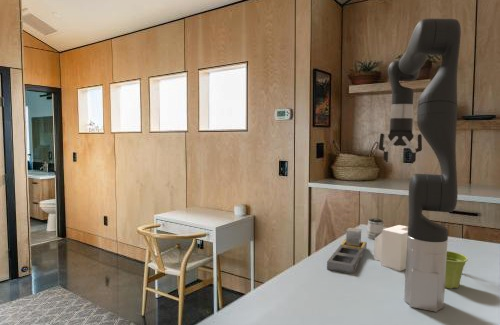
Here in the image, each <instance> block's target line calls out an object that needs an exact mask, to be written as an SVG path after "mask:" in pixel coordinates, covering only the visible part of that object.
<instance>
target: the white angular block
mask: <svg viewBox="0 0 500 325" xmlns="http://www.w3.org/2000/svg"><path fill="white" fill-rule="evenodd" d="M407 235H408V225H407V226H406V225H401V224H396V225H394V226H390V227H387V228H384V229H383V230H382V233H381V234H380V235H378V236H377V237H376V238H375V240H374V248H373V259H374V260H376V261H379V262H380V266H381V267H382V266H383V267H386V268H389V269H393V270H395V271H399V272H401V271H403V270H406V253H407Z"/></svg>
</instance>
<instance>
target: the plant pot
mask: <svg viewBox="0 0 500 325" xmlns="http://www.w3.org/2000/svg"><path fill="white" fill-rule="evenodd" d="M467 262H468V257H467V256H465V255H464V254H461V253H459V252H455V251H451V250H447V258H446V274H445V289H446V288H447V289H458V288H459V287H460V282H461V279H462V278H461V277H462V274H463V270H464V266H465V265H466V263H467Z"/></svg>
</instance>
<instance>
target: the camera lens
mask: <svg viewBox="0 0 500 325" xmlns="http://www.w3.org/2000/svg"><path fill="white" fill-rule="evenodd" d="M384 223H385V222H384V221H383V219H380V218H369V219H368V220H367V237H368V239H370V240H374V239H375V238H376V237H377V236H378V235H380V234H381V233H382V230H383V229H385V228H384Z"/></svg>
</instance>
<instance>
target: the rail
mask: <svg viewBox="0 0 500 325" xmlns="http://www.w3.org/2000/svg"><path fill="white" fill-rule="evenodd" d="M367 248H368V247H367V241H361V248H360V247H355V246H348V245H346V239H344V240H343V241H342V242H341V244H340V245H339V246H338V248H337V249H336V250H335V251H334V253H332V255H331V257H329V259H328V260H327V261H326V270H329V271H335V272H341V273H346V274H351V275H352V274H354V273H355V270H356V269H357V266H358V264H359V262H360V261H361V259H362V257H363V256H364V254H365V252H366V250H367Z"/></svg>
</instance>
